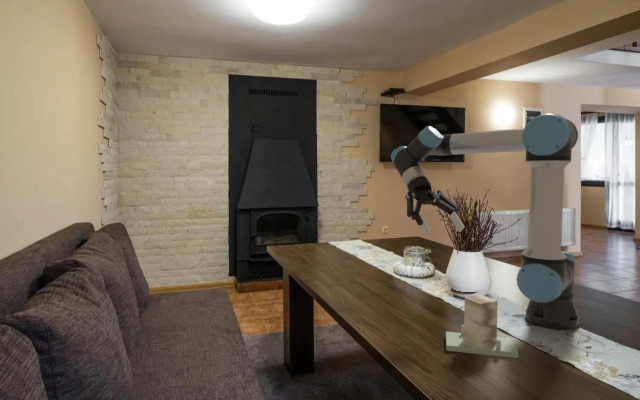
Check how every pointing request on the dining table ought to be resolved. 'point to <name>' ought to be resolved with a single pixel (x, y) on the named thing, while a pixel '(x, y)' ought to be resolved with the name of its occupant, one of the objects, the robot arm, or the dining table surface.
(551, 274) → the robot arm
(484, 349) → the peg board
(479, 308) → the tan block
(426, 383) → the dining table surface
